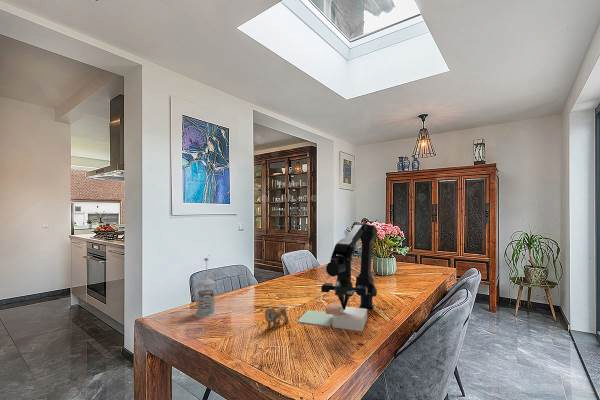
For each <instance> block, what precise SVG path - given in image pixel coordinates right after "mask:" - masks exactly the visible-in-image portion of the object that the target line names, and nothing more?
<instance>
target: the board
mask: <svg viewBox="0 0 600 400" xmlns="http://www.w3.org/2000/svg"><path fill="white" fill-rule="evenodd" d="M367 320H368V309H364V308H359V307H354V306H346V309H345V310H343V312H342V313H341V315H334V316H333V317H332V324H331V326H332V327H331V328H336V329H342V330H350V331H357V332H363V331H364V329H365V326H366V322H367Z"/></svg>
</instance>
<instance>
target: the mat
mask: <svg viewBox="0 0 600 400" xmlns="http://www.w3.org/2000/svg"><path fill="white" fill-rule="evenodd" d="M333 316H334V315H332V314H326V311H319V310H309V309H308V310H306V311H305V312H304V314H303V315H302V316H301V317H300V318H299V319H298V320H297V321H296V322H297V323H298V324H306V325H312V326H321V327H327V328H329V327H331V326H332V317H333Z"/></svg>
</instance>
